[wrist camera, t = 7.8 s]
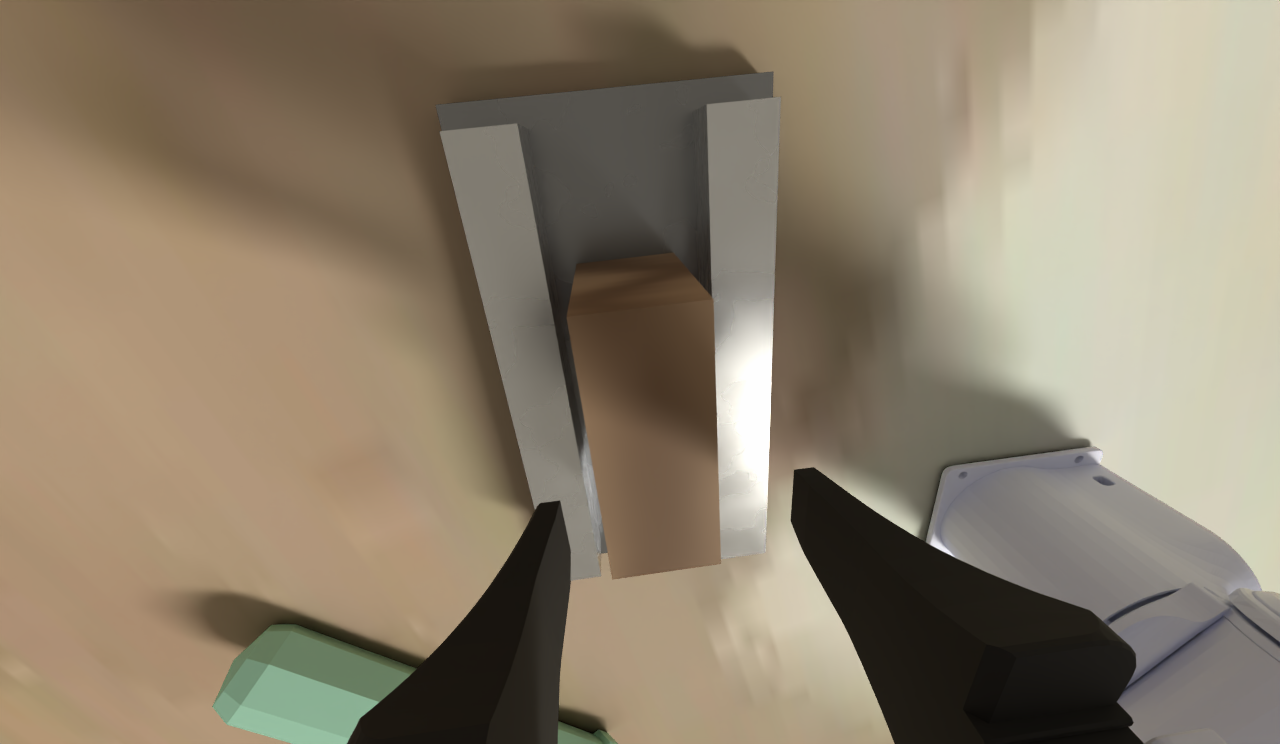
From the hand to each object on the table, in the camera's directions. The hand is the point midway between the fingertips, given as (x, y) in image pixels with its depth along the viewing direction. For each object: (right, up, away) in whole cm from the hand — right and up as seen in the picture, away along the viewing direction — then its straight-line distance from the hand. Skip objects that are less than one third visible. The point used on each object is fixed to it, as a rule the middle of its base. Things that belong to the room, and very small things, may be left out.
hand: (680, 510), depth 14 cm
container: (-14, -17, +18) cm, 29 cm away
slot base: (-1, +5, +8) cm, 9 cm away
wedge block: (-1, +4, +7) cm, 8 cm away
